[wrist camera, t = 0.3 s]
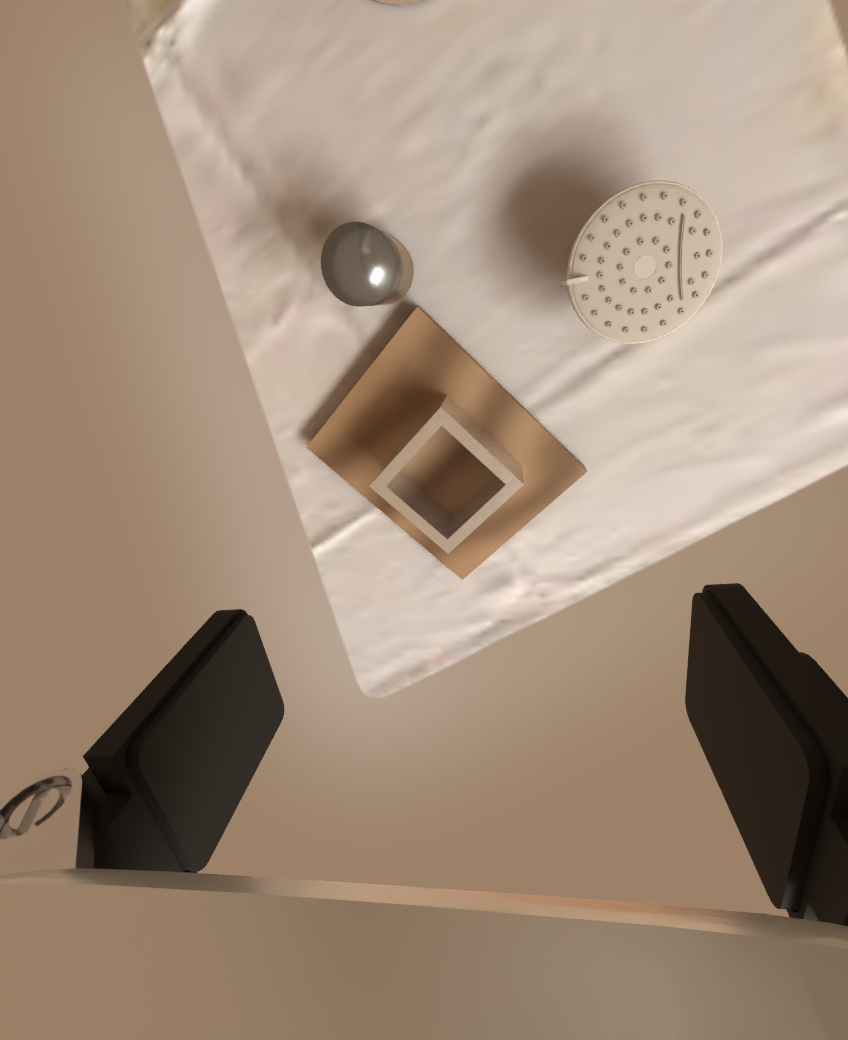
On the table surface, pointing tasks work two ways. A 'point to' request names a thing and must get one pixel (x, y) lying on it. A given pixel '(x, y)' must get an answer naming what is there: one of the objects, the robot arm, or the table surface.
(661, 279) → the showerhead
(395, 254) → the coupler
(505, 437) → the board
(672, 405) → the table surface
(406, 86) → the table surface
